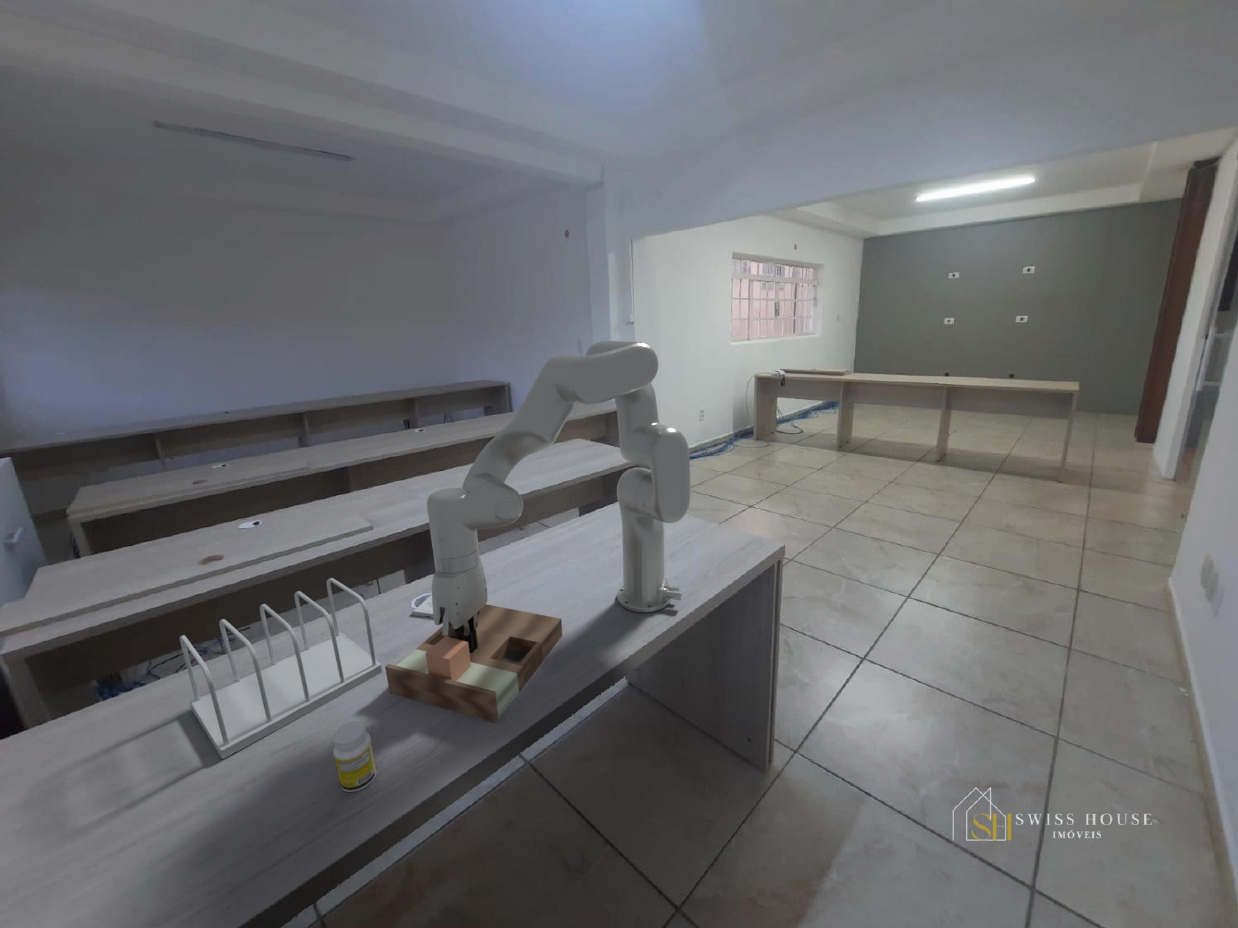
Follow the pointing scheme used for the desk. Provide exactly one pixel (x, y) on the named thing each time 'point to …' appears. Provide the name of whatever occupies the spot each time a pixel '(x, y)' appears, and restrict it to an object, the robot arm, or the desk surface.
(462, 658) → the block
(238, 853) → the desk surface
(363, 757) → the supplement bottle
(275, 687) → the file sorter
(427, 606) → the external hard drive
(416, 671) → the box
